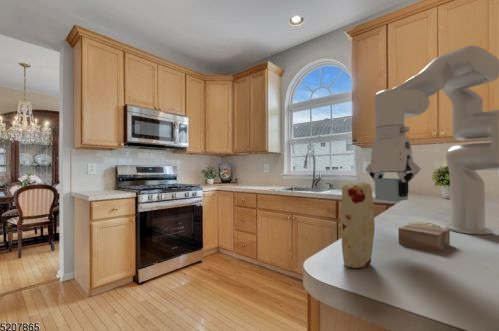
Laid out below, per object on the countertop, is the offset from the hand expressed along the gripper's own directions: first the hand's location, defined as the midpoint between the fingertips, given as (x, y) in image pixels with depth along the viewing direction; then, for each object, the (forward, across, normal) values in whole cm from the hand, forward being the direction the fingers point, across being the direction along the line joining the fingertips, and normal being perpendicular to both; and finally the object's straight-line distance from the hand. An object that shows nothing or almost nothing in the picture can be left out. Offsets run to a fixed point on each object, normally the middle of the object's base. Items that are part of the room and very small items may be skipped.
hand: (391, 194), depth 72 cm
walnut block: (+16, -3, -11) cm, 20 cm away
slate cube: (+1, 0, 0) cm, 1 cm away
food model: (+15, -3, +20) cm, 25 cm away
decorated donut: (+16, +3, -24) cm, 29 cm away
